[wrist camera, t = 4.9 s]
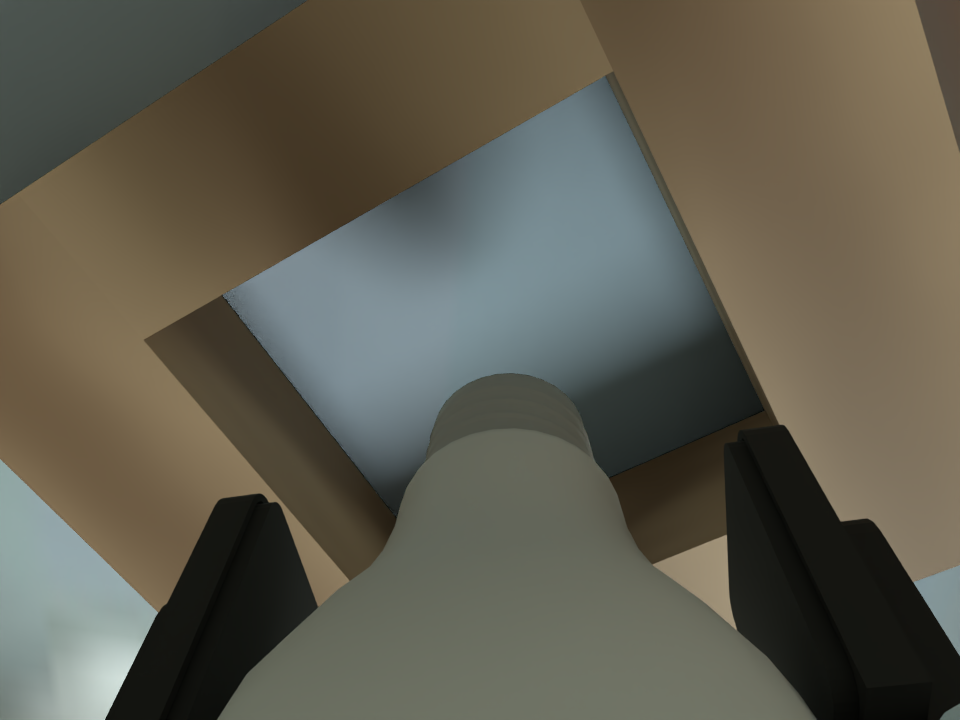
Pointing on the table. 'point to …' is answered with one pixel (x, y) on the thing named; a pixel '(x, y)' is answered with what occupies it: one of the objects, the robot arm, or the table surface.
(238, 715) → the lightbulb
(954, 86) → the terracotta stand
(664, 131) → the walnut holder
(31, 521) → the table surface
